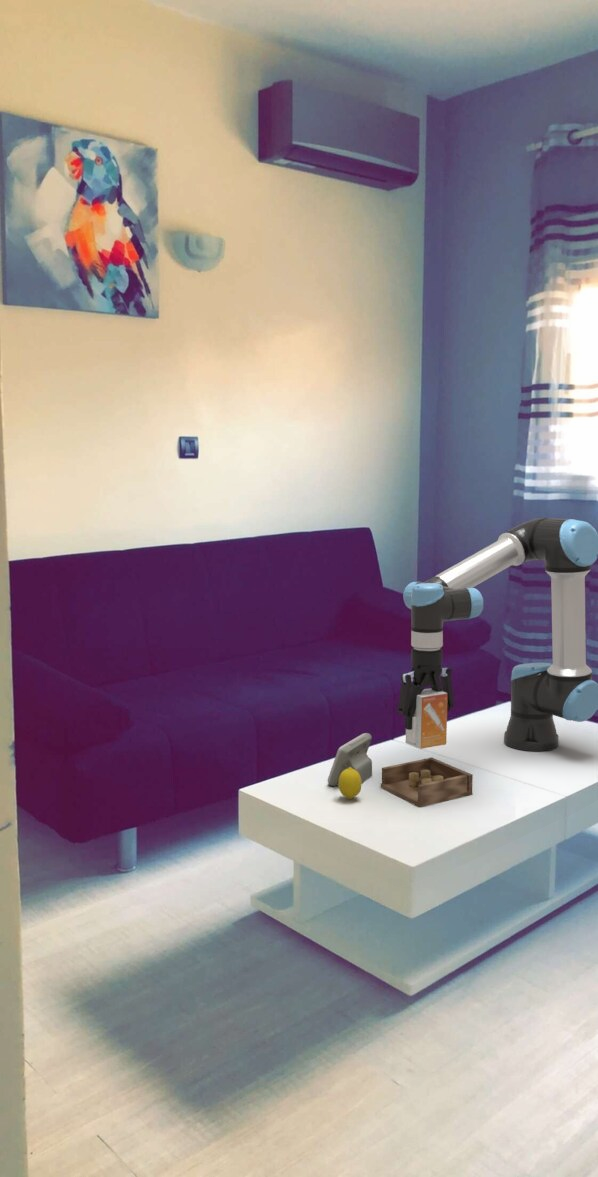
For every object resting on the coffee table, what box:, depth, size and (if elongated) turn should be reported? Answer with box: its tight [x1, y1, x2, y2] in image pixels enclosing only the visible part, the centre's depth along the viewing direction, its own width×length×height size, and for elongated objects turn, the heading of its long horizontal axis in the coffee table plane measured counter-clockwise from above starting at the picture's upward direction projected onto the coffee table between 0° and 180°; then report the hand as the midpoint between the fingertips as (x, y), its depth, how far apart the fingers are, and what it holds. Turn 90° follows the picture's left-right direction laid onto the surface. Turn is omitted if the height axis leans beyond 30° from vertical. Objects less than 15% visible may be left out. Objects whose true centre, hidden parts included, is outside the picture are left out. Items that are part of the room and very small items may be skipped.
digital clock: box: [327, 732, 373, 787], centre depth 247 cm, size 16×9×11 cm, turn 139°
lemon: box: [338, 767, 362, 800], centre depth 232 cm, size 6×6×8 cm
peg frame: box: [379, 756, 474, 808], centre depth 238 cm, size 16×16×5 cm
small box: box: [405, 687, 448, 750], centre depth 235 cm, size 8×6×13 cm
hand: (425, 739), depth 236 cm, fingers closed on small box, 8 cm apart
